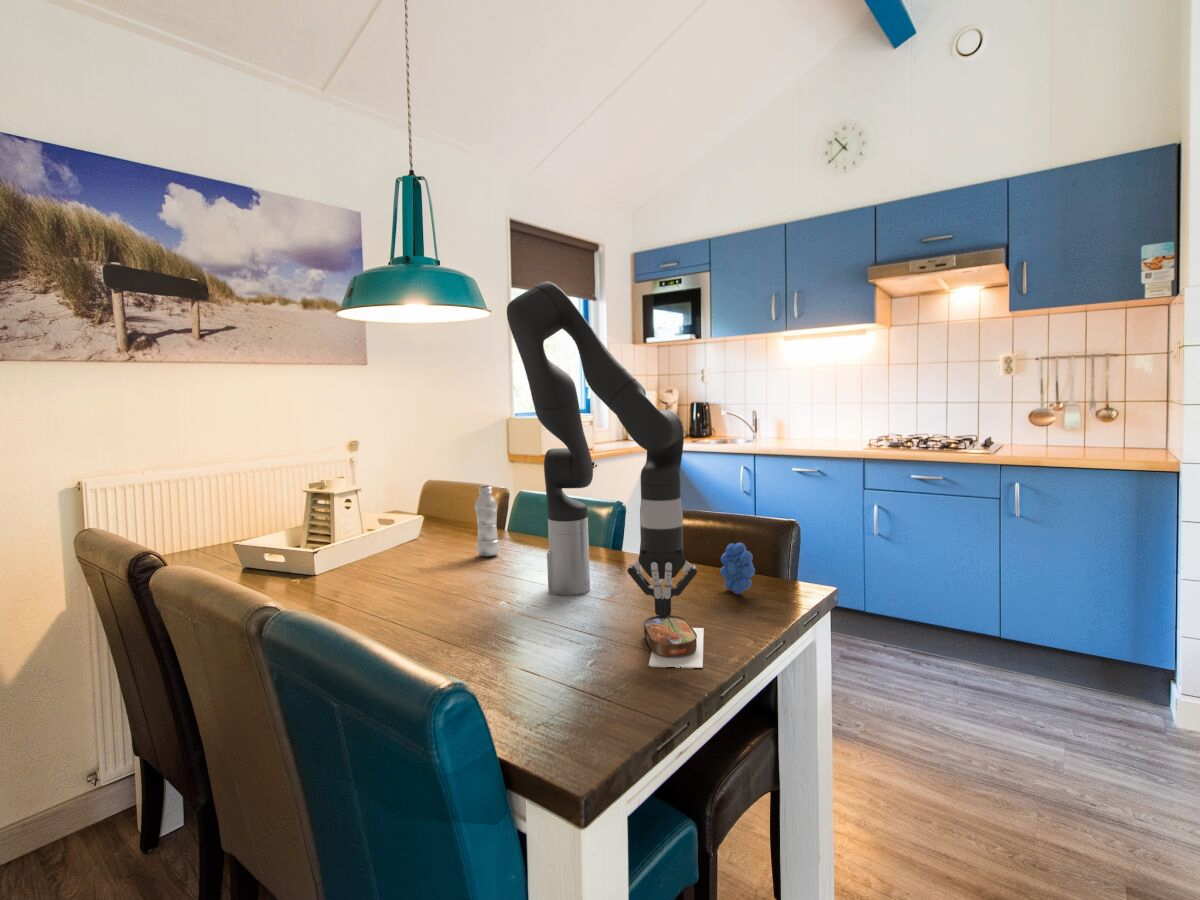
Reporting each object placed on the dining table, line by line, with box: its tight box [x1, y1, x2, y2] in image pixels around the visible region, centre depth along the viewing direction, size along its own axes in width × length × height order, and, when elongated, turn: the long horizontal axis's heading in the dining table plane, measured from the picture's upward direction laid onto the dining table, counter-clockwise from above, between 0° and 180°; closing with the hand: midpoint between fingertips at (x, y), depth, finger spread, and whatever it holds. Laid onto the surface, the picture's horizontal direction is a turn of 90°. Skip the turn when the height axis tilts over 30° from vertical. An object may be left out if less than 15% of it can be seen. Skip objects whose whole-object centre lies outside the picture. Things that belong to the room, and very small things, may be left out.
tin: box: [643, 614, 697, 657], centre depth 123 cm, size 15×3×8 cm
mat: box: [648, 627, 705, 669], centre depth 122 cm, size 9×18×1 cm, turn 171°
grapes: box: [719, 542, 756, 595], centre depth 151 cm, size 12×7×12 cm, turn 23°
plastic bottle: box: [474, 485, 501, 557], centre depth 191 cm, size 6×7×20 cm
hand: (663, 617), depth 122 cm, fingers closed
